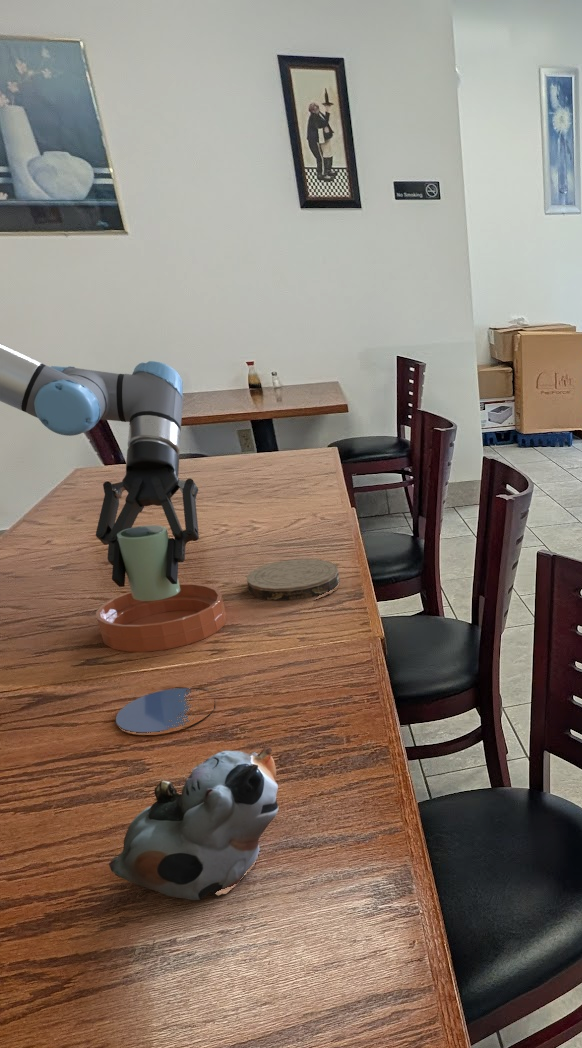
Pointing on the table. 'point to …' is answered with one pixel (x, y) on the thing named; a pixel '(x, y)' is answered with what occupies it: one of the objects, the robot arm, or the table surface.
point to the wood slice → (293, 579)
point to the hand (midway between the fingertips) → (145, 581)
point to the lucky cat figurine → (202, 827)
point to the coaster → (154, 711)
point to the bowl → (161, 619)
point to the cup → (147, 562)
